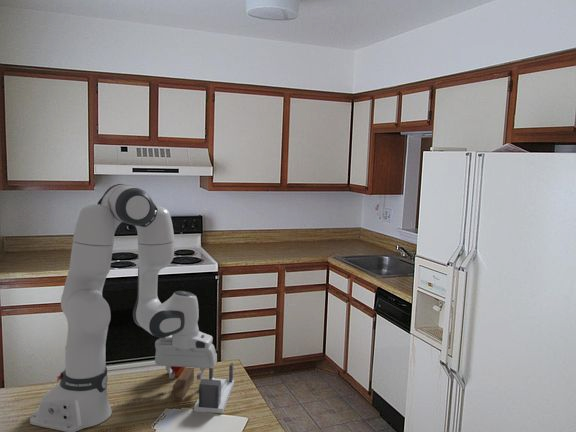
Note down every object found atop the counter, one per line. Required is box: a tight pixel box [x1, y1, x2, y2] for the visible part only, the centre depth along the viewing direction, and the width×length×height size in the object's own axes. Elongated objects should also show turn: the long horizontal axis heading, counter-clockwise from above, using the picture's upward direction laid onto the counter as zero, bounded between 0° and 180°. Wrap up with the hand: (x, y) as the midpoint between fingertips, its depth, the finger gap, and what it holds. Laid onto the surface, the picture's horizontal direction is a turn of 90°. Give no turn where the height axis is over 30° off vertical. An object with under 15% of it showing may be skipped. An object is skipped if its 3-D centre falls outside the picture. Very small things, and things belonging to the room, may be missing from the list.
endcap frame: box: [193, 362, 235, 414], centre depth 162 cm, size 9×20×9 cm, turn 176°
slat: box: [172, 367, 195, 402], centre depth 166 cm, size 3×14×5 cm, turn 175°
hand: (185, 378), depth 166 cm, fingers open, 8 cm apart
